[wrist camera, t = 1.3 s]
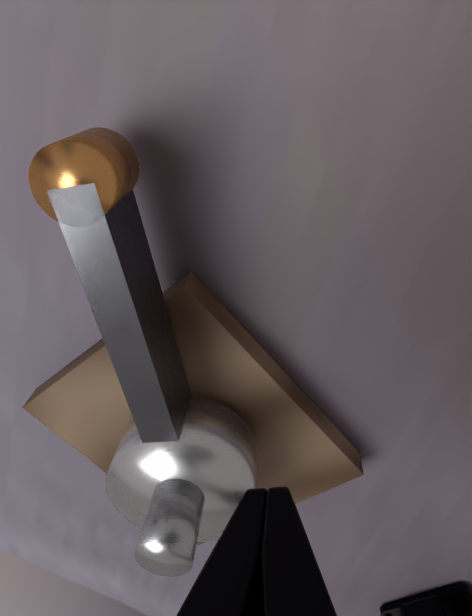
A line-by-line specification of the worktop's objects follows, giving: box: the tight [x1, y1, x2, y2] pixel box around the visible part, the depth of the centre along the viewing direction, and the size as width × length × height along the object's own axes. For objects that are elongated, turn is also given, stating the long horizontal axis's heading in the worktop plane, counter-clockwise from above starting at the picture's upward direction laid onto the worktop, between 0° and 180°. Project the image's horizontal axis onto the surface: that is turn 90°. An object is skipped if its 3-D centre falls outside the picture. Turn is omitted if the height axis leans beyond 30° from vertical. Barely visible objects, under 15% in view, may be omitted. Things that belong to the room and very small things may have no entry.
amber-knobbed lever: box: [29, 127, 258, 577], centre depth 18 cm, size 19×7×6 cm, turn 10°
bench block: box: [22, 272, 364, 545], centre depth 24 cm, size 14×12×2 cm
